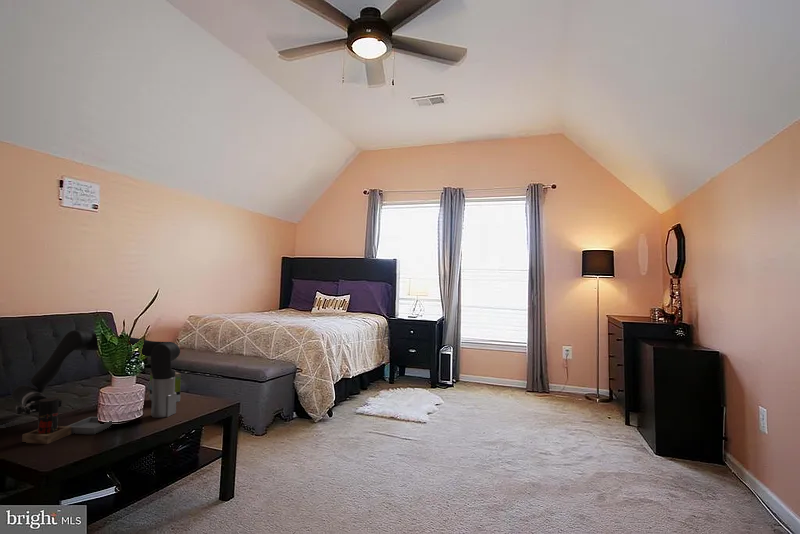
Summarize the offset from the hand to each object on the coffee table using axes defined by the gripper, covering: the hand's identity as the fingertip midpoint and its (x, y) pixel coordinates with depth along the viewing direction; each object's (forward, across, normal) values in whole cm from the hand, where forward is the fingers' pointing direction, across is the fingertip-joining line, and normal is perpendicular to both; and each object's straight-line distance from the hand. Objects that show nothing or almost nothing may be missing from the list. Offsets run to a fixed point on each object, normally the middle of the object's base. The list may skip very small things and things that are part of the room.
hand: (42, 409), depth 171 cm
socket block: (+11, 0, +9) cm, 14 cm away
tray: (+10, +15, +9) cm, 20 cm away
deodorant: (+11, 0, +9) cm, 14 cm away
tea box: (-12, +51, +9) cm, 53 cm away
